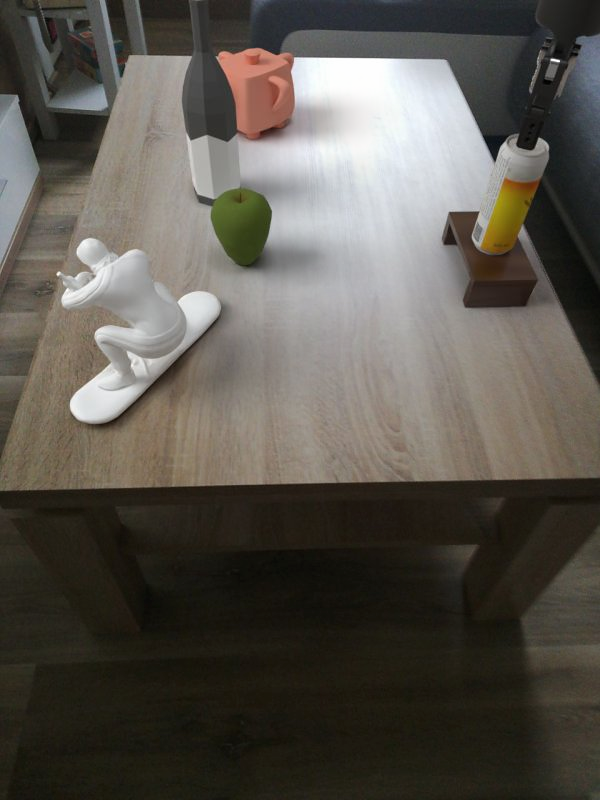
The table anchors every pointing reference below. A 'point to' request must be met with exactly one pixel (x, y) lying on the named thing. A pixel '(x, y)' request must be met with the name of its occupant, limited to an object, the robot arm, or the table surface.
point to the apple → (242, 223)
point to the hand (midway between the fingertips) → (531, 131)
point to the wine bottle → (209, 115)
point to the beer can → (509, 195)
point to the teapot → (260, 88)
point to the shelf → (490, 267)
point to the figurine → (145, 311)
